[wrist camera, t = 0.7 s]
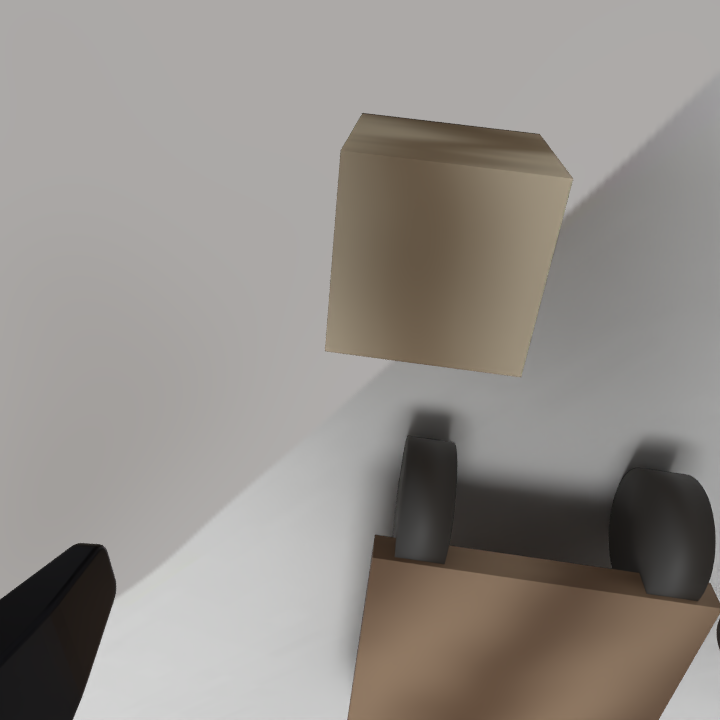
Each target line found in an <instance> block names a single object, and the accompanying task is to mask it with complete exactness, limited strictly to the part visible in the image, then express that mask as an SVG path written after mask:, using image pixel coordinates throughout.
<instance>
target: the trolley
mask: <svg viewBox="0 0 720 720" xmlns="http://www.w3.org/2000/svg"><path fill="white" fill-rule="evenodd" d="M456 484H457V451H456V445H455V443H454V442H448V441H440V440H433V439H426V438H419V437H412V436H407V439H406V443H405V448H404V453H403V459H402V465H401V472H400V479H399V486H398V493H397V501H396V510H395V518H394V528H393V537H387V536H380V535H375V538H374V545H373V552H372V558H371V565H370V572H369V578H368V585H367V592H366V598H365V605H364V612H363V619H362V625H361V632H360V639H359V645H358V652H357V659H356V665H355V672H354V679H353V685H352V692H351V699H350V705H349V712H348V719H347V720H659V718H660V716H661V714H662V713H663V711H664V709H665V708H666V706H667V704H668V702H669V701H670V699H671V697H672V695H673V694H674V692H675V690H676V688H677V687H678V685H679V683H680V682H681V680H682V678H683V676H684V675H685V673H686V671H687V669H688V668H689V666H690V664H691V662H692V661H693V659H694V657H695V656H696V654H697V652H698V650H699V649H700V647H701V645H702V643H703V642H704V640H705V638H706V636H707V635H708V633H709V631H710V630H711V628H712V626H713V624H714V623H715V621H716V619H717V617H718V616H719V614H720V603H719V600H718V598H717V596H716V594H715V592H714V590H713V588H712V585H711V583H709V580H710V577H711V573H712V569H713V564H714V557H715V525H714V518H713V513H712V509H711V505H710V502H709V499H708V497H707V494H706V492H705V490H704V489H703V487H702V486H701V484H700V483H699V482H698V481H697V480H696V479H695V478H694V477H692V476H690V475H686V474H679V473H672V472H665V471H657V470H650V469H643V468H634V469H632V470H630V471H629V472H628V473H627V474H626V475H625V476H624V478H623V479H622V481H621V483H620V485H619V487H618V489H617V492H616V495H615V498H614V502H613V506H612V511H611V517H610V527H609V551H610V560H611V566H612V569H608V568H601V567H594V566H588V565H581V564H574V563H567V562H560V561H553V560H546V559H539V558H532V557H525V556H518V555H511V554H504V553H498V552H491V551H484V550H477V549H470V548H463V547H456V546H449V543H450V537H451V531H452V524H453V516H454V508H455V497H456Z"/></svg>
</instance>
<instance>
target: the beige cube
mask: <svg viewBox="0 0 720 720" xmlns="http://www.w3.org/2000/svg"><path fill="white" fill-rule="evenodd" d="M572 181H573V178H572V176H571V175H570V174H569V172H568V171H567V170H566V168H565V167H564V166H563V164H562V163H561V162H560V160H559V159H558V158H557V156H556V155H555V154H554V152H553V151H552V150H551V149H550V147H549V146H548V144H547V143H546V142H545V141H544V140H543V138H542V137H541V135H540V134H536V133H528V132H519V131H511V130H503V129H494V128H486V127H477V126H469V125H461V124H452V123H444V122H435V121H427V120H418V119H409V118H401V117H393V116H385V115H376V114H367V113H362V115H361V117H360V119H359V120H358V122H357V123H356V125H355V127H354V129H353V130H352V132H351V134H350V136H349V137H348V139H347V141H346V142H345V144H344V146H343V147H342V149H341V153H340V168H339V179H338V192H337V205H336V217H335V230H334V243H333V255H332V268H331V281H330V294H329V307H328V319H327V332H326V345H325V351H327V352H335V353H342V354H350V355H358V356H366V357H372V358H381V359H387V360H395V361H402V362H410V363H417V364H425V365H433V366H440V367H448V368H455V369H463V370H470V371H478V372H485V373H493V374H500V375H508V376H515V377H521V376H522V372H523V368H524V364H525V360H526V357H527V353H528V349H529V345H530V341H531V338H532V334H533V330H534V326H535V322H536V319H537V315H538V311H539V307H540V303H541V299H542V296H543V292H544V288H545V284H546V280H547V277H548V273H549V269H550V265H551V261H552V258H553V254H554V250H555V246H556V242H557V239H558V235H559V231H560V227H561V223H562V220H563V216H564V212H565V208H566V204H567V200H568V197H569V192H570V189H571V185H572Z"/></svg>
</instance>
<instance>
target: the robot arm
mask: <svg viewBox="0 0 720 720" xmlns="http://www.w3.org/2000/svg"><path fill="white" fill-rule="evenodd" d="M115 594H116V580H115V576H114V573H113V570H112V566H111V562H110V559H109V556H108V552H107V550H106V548H105V547H104V546H103V545H100V544H87V543H78V544H75V545H73V546H72V547H70V548H69V549H67V550H66V551H65V552H63V553H62V554H61V555H59V556H58V557H57V558H55V559H54V560H53V561H51V562H50V563H48V564H47V565H46V566H44V567H43V568H42V569H40V570H39V571H38V572H36V573H35V574H34V575H32V576H31V577H30V578H28V579H27V580H26V581H24V582H23V583H22V584H20V585H19V586H18V587H16V588H15V589H14V590H12V591H11V592H10V593H8V594H7V595H6V596H4V597H3V598H1V599H0V720H73V718H74V715H75V713H76V710H77V708H78V706H79V703H80V701H81V698H82V696H83V693H84V690H85V687H86V684H87V681H88V678H89V675H90V672H91V669H92V666H93V663H94V660H95V657H96V654H97V651H98V648H99V645H100V642H101V639H102V635H103V632H104V629H105V626H106V623H107V620H108V617H109V614H110V611H111V608H112V605H113V602H114V598H115ZM717 641H718V645H719V649H720V619H719V622H718V625H717Z"/></svg>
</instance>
